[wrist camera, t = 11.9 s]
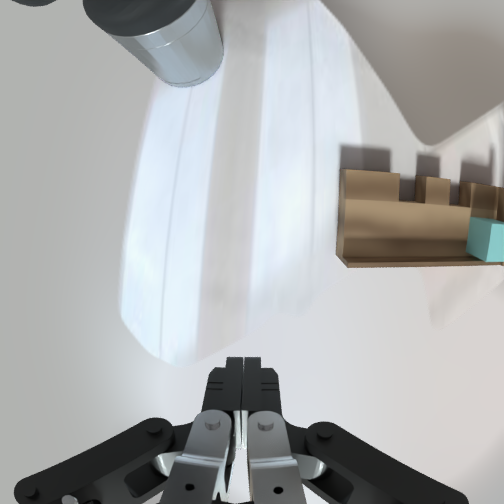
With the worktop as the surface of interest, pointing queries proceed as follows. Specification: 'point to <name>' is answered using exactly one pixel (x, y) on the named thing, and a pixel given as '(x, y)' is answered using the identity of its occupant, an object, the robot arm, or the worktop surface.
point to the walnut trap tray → (409, 221)
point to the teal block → (486, 239)
